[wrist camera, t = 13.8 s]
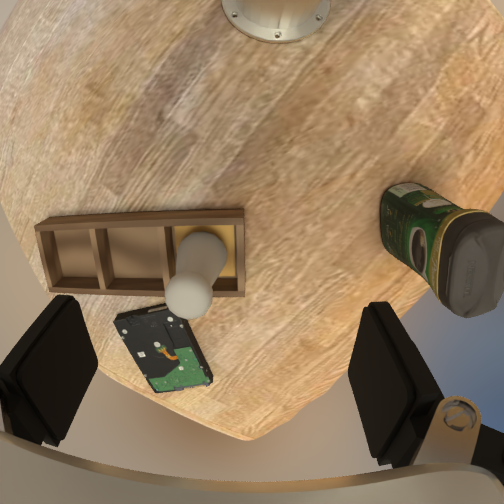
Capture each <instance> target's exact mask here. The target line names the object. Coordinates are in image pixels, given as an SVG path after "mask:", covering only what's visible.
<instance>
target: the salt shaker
mask: <svg viewBox="0 0 504 504" xmlns="http://www.w3.org/2000/svg"><path fill="white" fill-rule="evenodd" d="M226 260H227V251H226V249H225V246H224V244H223V242H222V241H221V240H220V239H219V238H218V237H217V236H216V235H215V234H212V233H208V232H205V231H201V232H193V233H191V234H190V235H188V236H187V237H185V238H184V239H183V240H182V242H181V243H180V245H179V247H178V248H177V261H176V275H175V276H173V277H172V278H171V279H170V281H169V283H168V285H167V286H166V288H165V303H166V304H167V306H168V308H169V310H170V311H171V312H172V313H174V314H175V315H176V316H178V317H181V318H184V319H197V318H199V317H201V316H203V315H205V314H206V312H207V311H208V309H209V307H210V306H211V304H212V297H213V289H212V285H213V284H214V282H215V281H216V279H217V277H218V276H219V274H220V273H221V271H222V270H223V268H224V266H225V265H226Z"/></svg>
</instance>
